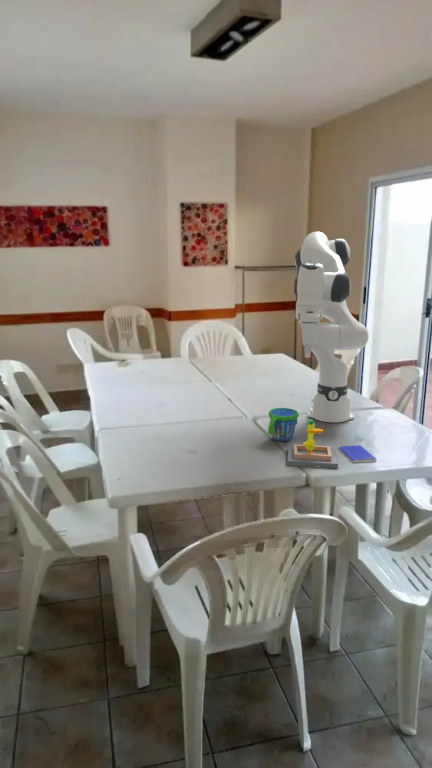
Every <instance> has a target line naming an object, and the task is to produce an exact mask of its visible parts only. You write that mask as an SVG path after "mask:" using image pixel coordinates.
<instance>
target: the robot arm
mask: <svg viewBox="0 0 432 768" xmlns="http://www.w3.org/2000/svg"><path fill="white" fill-rule="evenodd" d="M349 245H350V244H349V243H348V242H347V241H346V240H345V239H344V238H335V239H333V240H332V239H331V240H329V238H328V237H327V235H326V234H325V233H323V232H320V231H313V232H310V233H308V235H306V236H305V238H304V240H303V241H302V244H301V247H300V248H299V249H298V251H296V253H295V255H294V264H295V267H296V270H297V271H298V275H297V276H296V277H295V278H294V284H293V285H294V286H293V287H294V290H293V294H294V295H295V297H297V299H296V303H295V319H297V320H298V324H299V325H300V326H301V338H302V339H301V341H302V345H303V347H304V349H303V351H304V357H305V359H309V358H311V352H312V353H313V354H314V356H315V358H316V360H317V363H318V373H319V374H318V383H317V387H316V390H317V391H316V392H317V393H316V394H315V395H314V396H313V397H312V398H311V403H312V405H311V407H310V409H309V411H308V412H307V415H306V417H308V418H312V419H315V420H317V421H320V422H325V423H326V422H327V423H343V422H347V421H350V420H354V419H355V415H354V414H353V413H352V412H351V402H352V401H351V398H350V397H349V396H348V390H349V389H348V371H349V370H348V369H349V368H348V365H347V363H346V362H345V361H344V360H341V359H340V358H339V357H336V356H335V351H355V350H360V349H363V348H364V347H365V346H366V345H367V343H368V342H369V330H368V329H367V327H366V326H365V324H362V323H361V322H359V320H357V319H356V318H355V317H354V316H353V315H352V313H351V312H350V310H349V308H348V305H347V302H346V301H347V299H348V298H349V297H350V294H351V279H350V277H349V275H348V274H347V272H346V269H345V267H346V266H347V265H348V264H349V261H350V259H351V248H350V246H349ZM323 318H325V319H327V320H328V321H330V322H320V321H322V320H323Z"/></svg>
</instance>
